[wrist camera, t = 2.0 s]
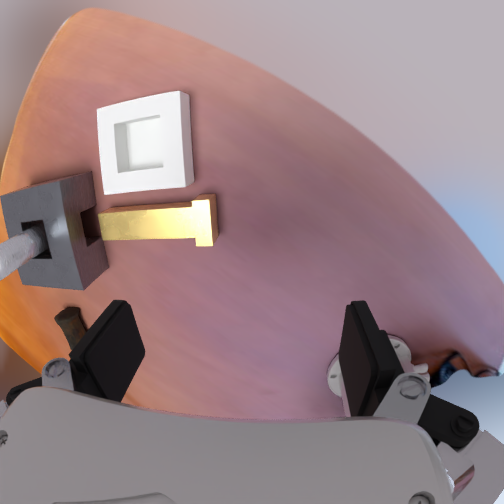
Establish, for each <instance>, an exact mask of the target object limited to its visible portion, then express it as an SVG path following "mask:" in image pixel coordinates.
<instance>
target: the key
mask: <svg viewBox="0 0 504 504" xmlns="http://www.w3.org/2000/svg"><path fill="white" fill-rule="evenodd" d="M98 218H99V223H100V228H101V234H102V238H103V240H131V239H167V238H196V246H213V245H214V243H215V241H216V239H217V238H218V236H219V234H218V221H217V208H216V195H215V194H201V195H199V196H197V197H196V198H195V199H194V200H192V202H178V203H163V204H149V205H136V206H124V207H113V208H109V209H107V210H105V211H103V212H101V213H99V214H98Z"/></svg>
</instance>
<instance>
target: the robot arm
mask: <svg viewBox="0 0 504 504" xmlns="http://www.w3.org/2000/svg"><path fill="white" fill-rule="evenodd" d="M69 356H70V358H71V359H70V361H68V360H67V359H65V358H55V359H53V360H51V361H49V362H48V363H47V364H46V365H45V366H44V367H43V369H42V377H40V378H37V379H35V380H32V381H29V382H27V383H24V384H21V385H18V386H16V387H14V388H12V389H11V390H10V392H9V393H8V394H7V397H6V402H5V401H4V400H2V401H1V402H0V504H493V503H494V502H495V501H496V499H497V498H498V496H499V495H500V494H501V492H502V491H503V489H504V445H503V444H502V443H501V442H500V441H498V440H497V439H496V438H495V437H493V436H492V435H491V434H490V433H488V432H487V431H486V430H484V432H482V431H481V430H479V421H478V419H477V417H476V416H475V415H474V414H473V413H472V412H470V411H468V410H466V409H463V408H461V407H459V406H456V405H454V404H452V403H449V402H447V401H445V400H442V399H440V398H438V397H436V396H434V395H431V394H430V392H431V386H430V383H429V380H430V376H429V373H428V372H427V370H428V365H427V364H426V363H424V364H418V365H415V366H414V365H413V364H411V353H410V350H409V348H408V346H407V344H406V343H405V342H404V341H403V340H402V339H400V338H398V337H395V336H392V335H387V333H386V331H384V330H379V328H378V326H377V324H376V321H375V319H374V317H373V315H372V313H371V311H370V309H369V307H368V305H367V303H366V301H352V302H351V305H347V306H346V312H345V319H344V325H343V332H342V338H341V343H340V349H339V354H338V355H337V356H336V357H335V358H334V359H333V361H332V362H331V364H330V366H329V368H328V371H327V381H328V386H329V388H330V390H331V391H332V392H333V393H334V394H336V395H337V396H339V397H342V401H343V406H344V411H345V417H338V418H323V419H294V420H257V419H234V418H220V417H208V416H198V415H190V414H182V413H175V412H168V411H162V410H156V409H150V408H144V407H139V406H134V405H129V404H125V403H121V401H122V399H123V397H124V395H125V393H126V391H127V389H128V387H129V385H130V383H131V381H132V379H133V377H134V375H135V373H136V371H137V369H138V367H139V366H140V364H141V362H142V360H143V358H144V356H145V348H144V345H143V342H142V340H141V337H140V334H139V331H138V327H137V324H136V321H135V318H134V315H133V311H132V308H131V305H130V304H128V303H127V301H125V300H113V301H112V302H111V304H110V305H109V306H108V307H107V308H106V309H105V311H104V312H103V313H102V314H101V315H100V317H99V318H98V319H97V320H96V321H95V322H94V324H93V325H92V326H91V327H90V329H89V330H88V331H87V332H86V333H85V335H84V336H83V337H82V338H81V340H80V341H79V342H78V343H77V345H76V346H75V347H74V348H73V350H72V351H71V352H70V354H69ZM417 373H418V374H417ZM446 469H447V470H448V472H446ZM447 474H448V475H449V476H450V477H451V478H452V479H453V481H454V485H455V487H454V488H453V486H452V484H451V482H450V479H449V477H448V475H447Z"/></svg>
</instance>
